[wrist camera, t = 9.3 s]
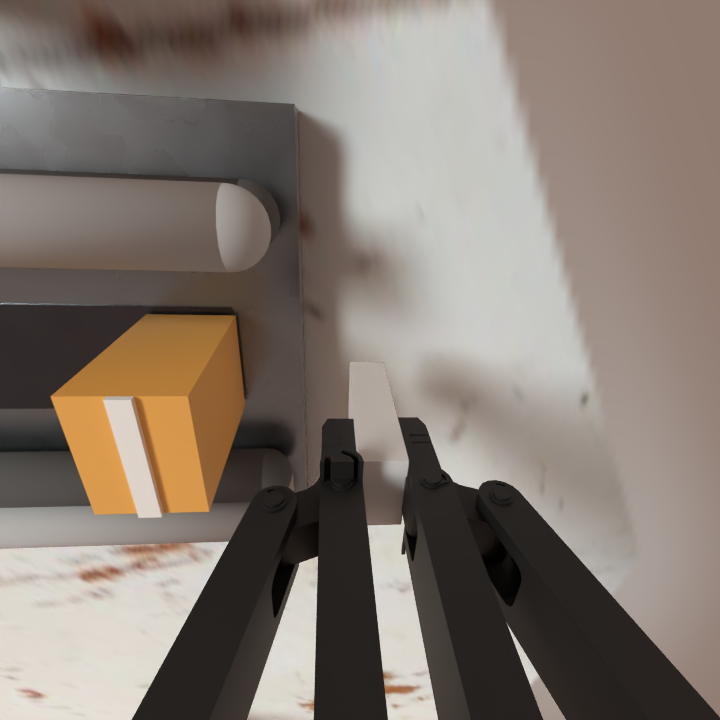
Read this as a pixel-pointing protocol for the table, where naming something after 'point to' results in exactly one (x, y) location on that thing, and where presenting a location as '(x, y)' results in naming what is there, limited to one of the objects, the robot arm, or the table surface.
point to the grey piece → (83, 528)
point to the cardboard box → (156, 415)
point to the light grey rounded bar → (133, 221)
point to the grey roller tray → (145, 287)
